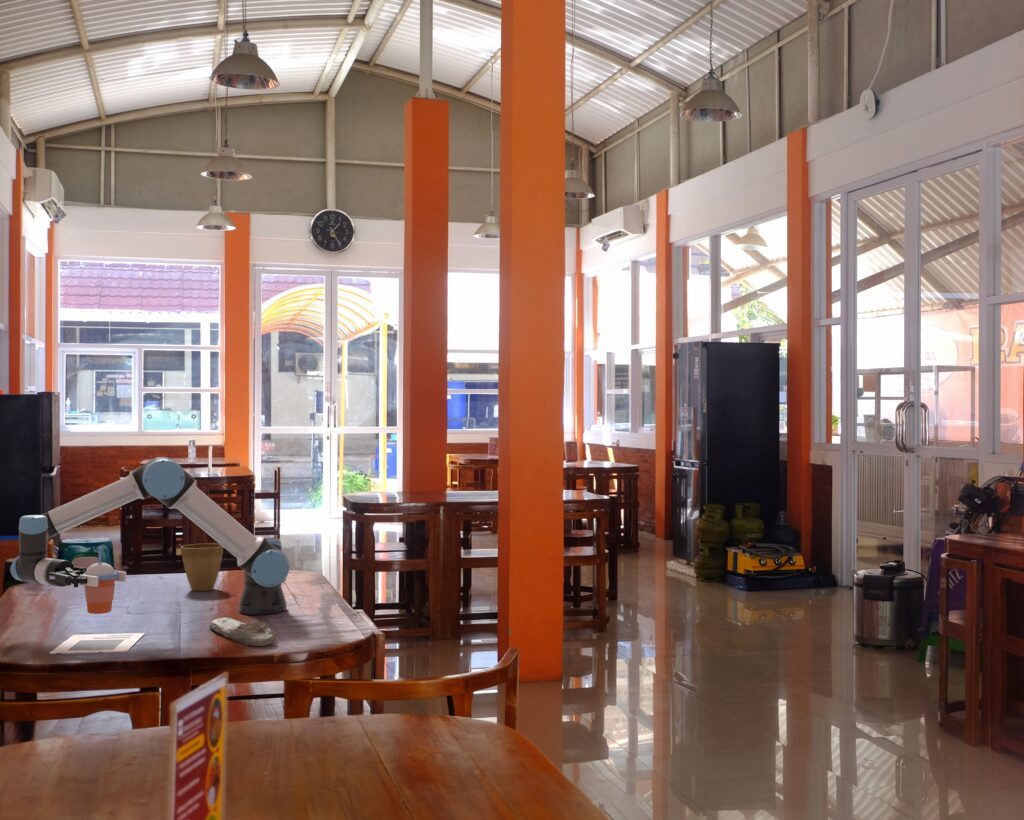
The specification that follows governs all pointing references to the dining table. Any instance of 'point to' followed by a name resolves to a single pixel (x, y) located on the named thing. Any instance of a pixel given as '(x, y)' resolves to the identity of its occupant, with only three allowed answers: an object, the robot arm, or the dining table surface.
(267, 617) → the dining table surface
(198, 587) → the plant pot
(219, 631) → the elongated rock
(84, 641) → the picture frame
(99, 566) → the cup with straw
